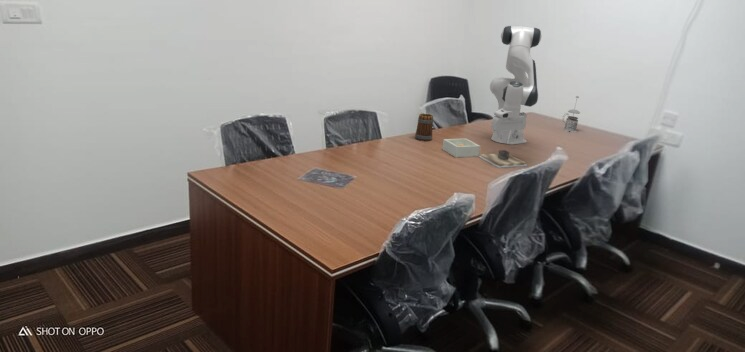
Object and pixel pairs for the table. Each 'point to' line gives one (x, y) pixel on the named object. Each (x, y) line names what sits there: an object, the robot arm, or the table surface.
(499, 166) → the mat
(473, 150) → the pale green open box
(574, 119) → the french press
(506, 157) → the lid
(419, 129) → the mug
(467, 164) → the table surface
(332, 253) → the table surface
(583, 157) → the table surface
